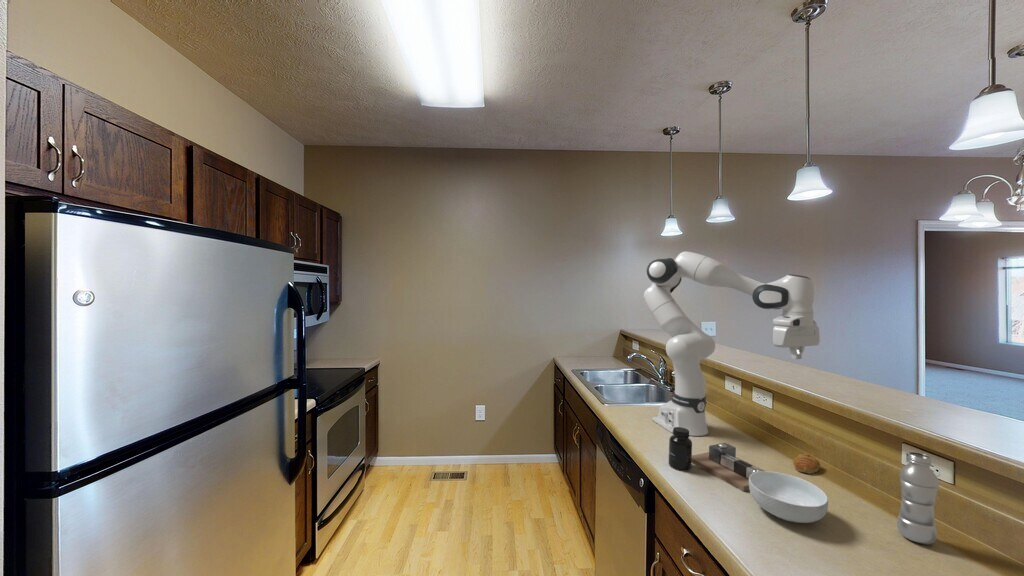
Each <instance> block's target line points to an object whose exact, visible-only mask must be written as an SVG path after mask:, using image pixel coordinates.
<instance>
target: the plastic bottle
mask: <svg viewBox="0 0 1024 576" xmlns="http://www.w3.org/2000/svg"><path fill="white" fill-rule="evenodd" d="M907 455H908V457H907V461H908V463H907V464H905V465H903V467H902V468H900V471H899V480H900V488H901V503H900V507H899V508H900V510H899V514H898V517H897V520H896V528H897V530H898V532H899V533H900V535H901V536H902V537H904V538H906V540H910V541H912V542H914V543H918V544H921V545H927V546H929V545H933V543H935V542H936V539H937V537H938V533H937V527H936V522H935V505H936V498H937V495H938V491H939V485H940V481H939V477H938V476H937V475H936V474H935V472H934V471H933V470H932V468H930V467H932V459H931V457H930V456H929V455H927V454H925V453H922V452H917V451H916V452H915V451H910V452H909V451H908V453H907Z"/></svg>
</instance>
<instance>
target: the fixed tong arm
mask: <svg viewBox="0 0 1024 576" xmlns="http://www.w3.org/2000/svg"><path fill="white" fill-rule="evenodd" d="M721 465H723V466H725V467H727V468H729V469H731V470H733V471H734V472H736V473H738V474H740V475H741V476H743V477H745V478H748V479H749V477H750V475H751V474H753V473H755V472H757V471H756V470H754V469H752V468H750V467H749V466H747V465H745V464H743V463H741V462H739V461H736V460H734V459H731V458H729V457H727V456H725V455H721Z"/></svg>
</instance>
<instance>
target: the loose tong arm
mask: <svg viewBox="0 0 1024 576" xmlns="http://www.w3.org/2000/svg"><path fill="white" fill-rule="evenodd" d="M724 455H725V456H727V457H729V458H731V459H734V460H736V461H739V462H741V463H743V464H745V465H747V466H749V467H750V468H752V469H754V470H756V471H757V472H760V471H761V470H760V469H761V468H760V469H758V468H759V467H758V468H756V467H757V466H756V467H753V466H752V465H753V464H751V463H749V462H747V461H745V460H743V459H741V460H739V459H740V458H739V459H737V458H738V457H737V458H735V457H732V456H730V455H728V454H724ZM742 460H743V461H742ZM744 461H745V462H744ZM746 462H747V463H746ZM748 463H749V464H748ZM750 464H751V465H750Z"/></svg>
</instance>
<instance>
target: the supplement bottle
mask: <svg viewBox="0 0 1024 576" xmlns="http://www.w3.org/2000/svg"><path fill="white" fill-rule="evenodd" d="M692 455H693V442H692V440H691V439H690V435H689V430H687V429H685V428H682V427H674V428H673V433H672V435H671V436H670V437H669V441H668V465H669V466H670V467H671V468H672V467H673V469H674V468H675V470H677V469H678V470H677V471H681V470H687V471H690V470H691V468H692V463H691V460H692Z"/></svg>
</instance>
